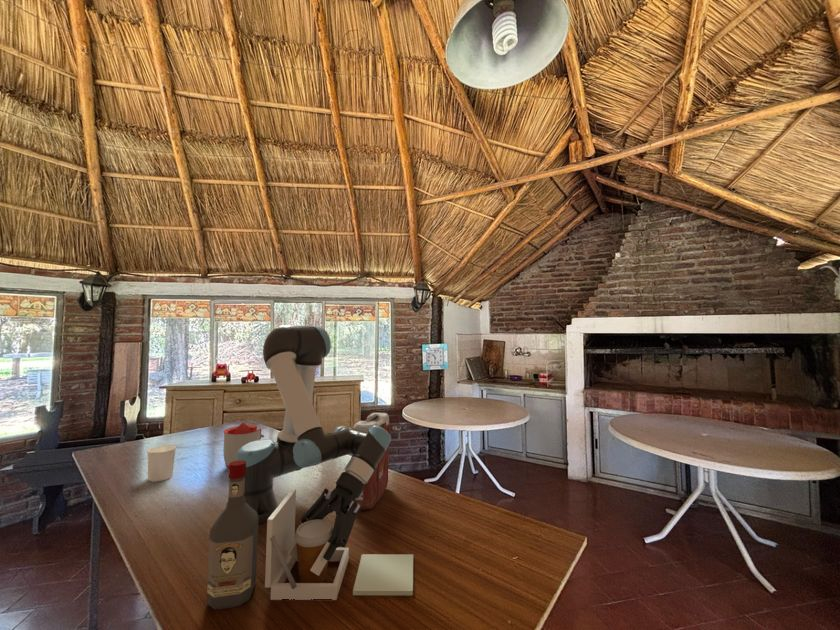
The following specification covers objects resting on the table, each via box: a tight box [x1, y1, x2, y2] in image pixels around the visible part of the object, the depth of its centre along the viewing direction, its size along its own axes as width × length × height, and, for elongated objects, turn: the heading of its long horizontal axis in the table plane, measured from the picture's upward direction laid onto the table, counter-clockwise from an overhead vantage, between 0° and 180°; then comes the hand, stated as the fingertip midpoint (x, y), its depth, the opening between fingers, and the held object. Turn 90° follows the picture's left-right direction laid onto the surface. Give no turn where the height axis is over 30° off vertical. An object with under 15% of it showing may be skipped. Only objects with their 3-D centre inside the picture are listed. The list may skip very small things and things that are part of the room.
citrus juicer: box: [223, 422, 265, 471], centre depth 165 cm, size 16×17×20 cm
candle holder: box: [147, 445, 177, 483], centre depth 150 cm, size 10×10×12 cm
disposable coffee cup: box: [294, 519, 333, 583], centre depth 89 cm, size 10×10×12 cm
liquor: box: [206, 460, 259, 611], centre depth 83 cm, size 9×9×30 cm
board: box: [352, 553, 414, 596], centre depth 90 cm, size 14×14×1 cm
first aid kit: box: [350, 412, 392, 511], centre depth 134 cm, size 23×8×30 cm, turn 168°
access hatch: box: [264, 489, 350, 601], centre depth 89 cm, size 16×16×18 cm
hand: (302, 564), depth 87 cm, fingers closed on disposable coffee cup, 9 cm apart
